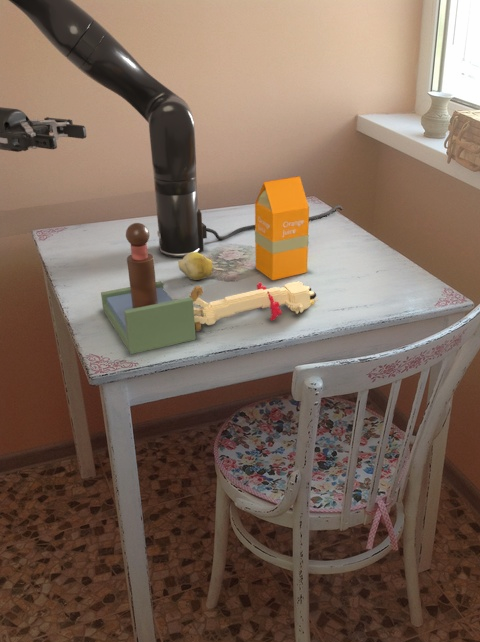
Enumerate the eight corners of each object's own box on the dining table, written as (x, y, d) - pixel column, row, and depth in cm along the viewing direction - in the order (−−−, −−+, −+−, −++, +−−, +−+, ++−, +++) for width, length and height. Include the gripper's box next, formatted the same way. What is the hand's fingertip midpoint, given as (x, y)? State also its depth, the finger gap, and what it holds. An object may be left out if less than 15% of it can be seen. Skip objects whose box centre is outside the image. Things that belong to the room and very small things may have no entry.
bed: (162, 299, 140) (159, 262, 136) (195, 339, 126) (193, 299, 122) (103, 311, 135) (97, 272, 131) (131, 354, 122) (125, 313, 117)
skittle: (153, 300, 131) (145, 217, 123) (161, 310, 128) (153, 225, 119) (129, 305, 130) (119, 221, 121) (136, 315, 126) (127, 229, 117)
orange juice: (307, 272, 152) (310, 180, 141) (272, 280, 148) (272, 187, 137) (289, 260, 158) (290, 171, 147) (254, 267, 154) (253, 176, 143)
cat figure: (200, 343, 128) (326, 312, 134) (194, 300, 123) (324, 271, 129) (187, 319, 135) (306, 291, 142) (180, 278, 130) (304, 251, 137)
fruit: (228, 280, 148) (182, 281, 144) (218, 277, 153) (174, 278, 149) (228, 252, 147) (182, 252, 143) (218, 251, 152) (174, 251, 148)
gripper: (-34, 114, 123) (41, 124, 118) (20, 100, 134) (91, 108, 129) (-25, 157, 127) (48, 168, 122) (28, 140, 139) (96, 149, 133)
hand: (70, 137), depth 126 cm, fingers open, 8 cm apart
